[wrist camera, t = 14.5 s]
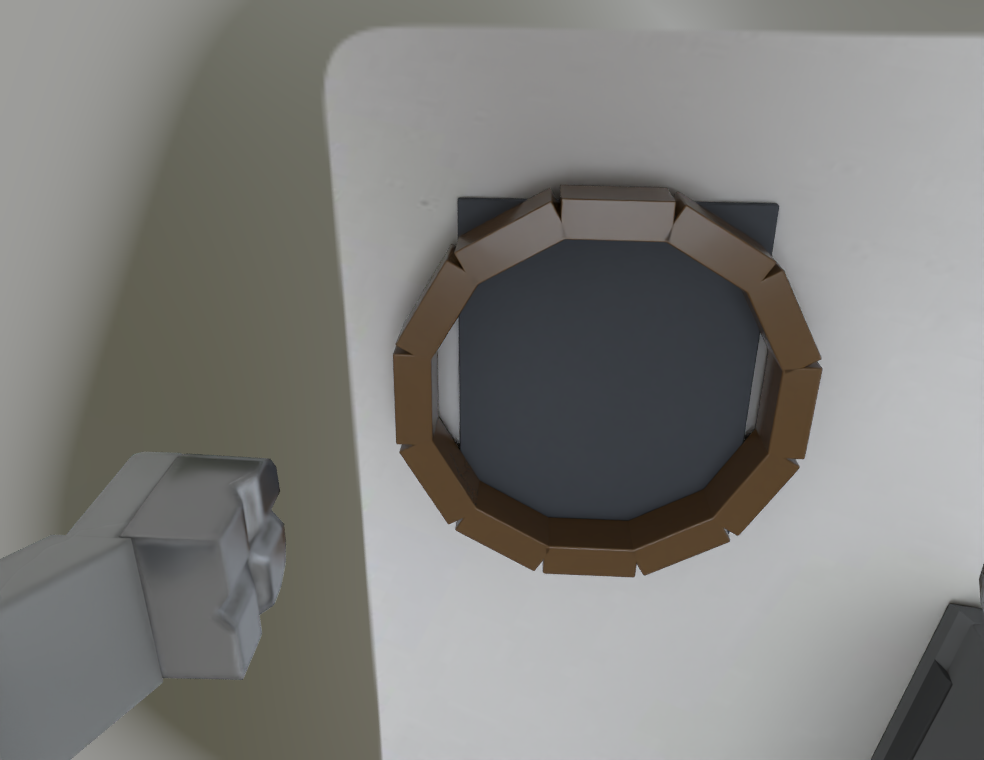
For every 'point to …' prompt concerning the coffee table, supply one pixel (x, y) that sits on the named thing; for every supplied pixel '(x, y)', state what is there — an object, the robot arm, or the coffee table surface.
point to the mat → (606, 370)
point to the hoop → (664, 529)
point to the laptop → (943, 696)
